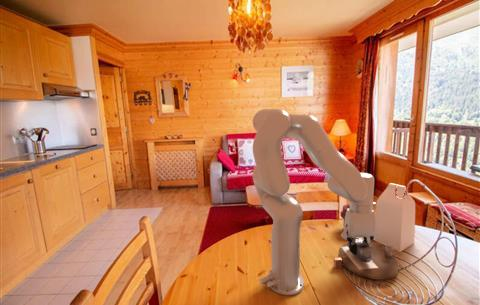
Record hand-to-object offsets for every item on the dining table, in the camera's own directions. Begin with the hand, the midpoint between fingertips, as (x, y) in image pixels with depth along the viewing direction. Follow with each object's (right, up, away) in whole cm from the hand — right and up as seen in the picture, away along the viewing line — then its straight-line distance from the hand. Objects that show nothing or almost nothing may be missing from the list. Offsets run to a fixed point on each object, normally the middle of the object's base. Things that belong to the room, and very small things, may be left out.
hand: (358, 251), depth 92 cm
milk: (+23, -2, +16) cm, 28 cm away
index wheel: (+4, -4, +1) cm, 5 cm away
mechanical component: (+9, 0, +27) cm, 29 cm away
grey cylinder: (0, 0, 0) cm, 0 cm away
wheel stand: (-1, -6, 0) cm, 6 cm away
